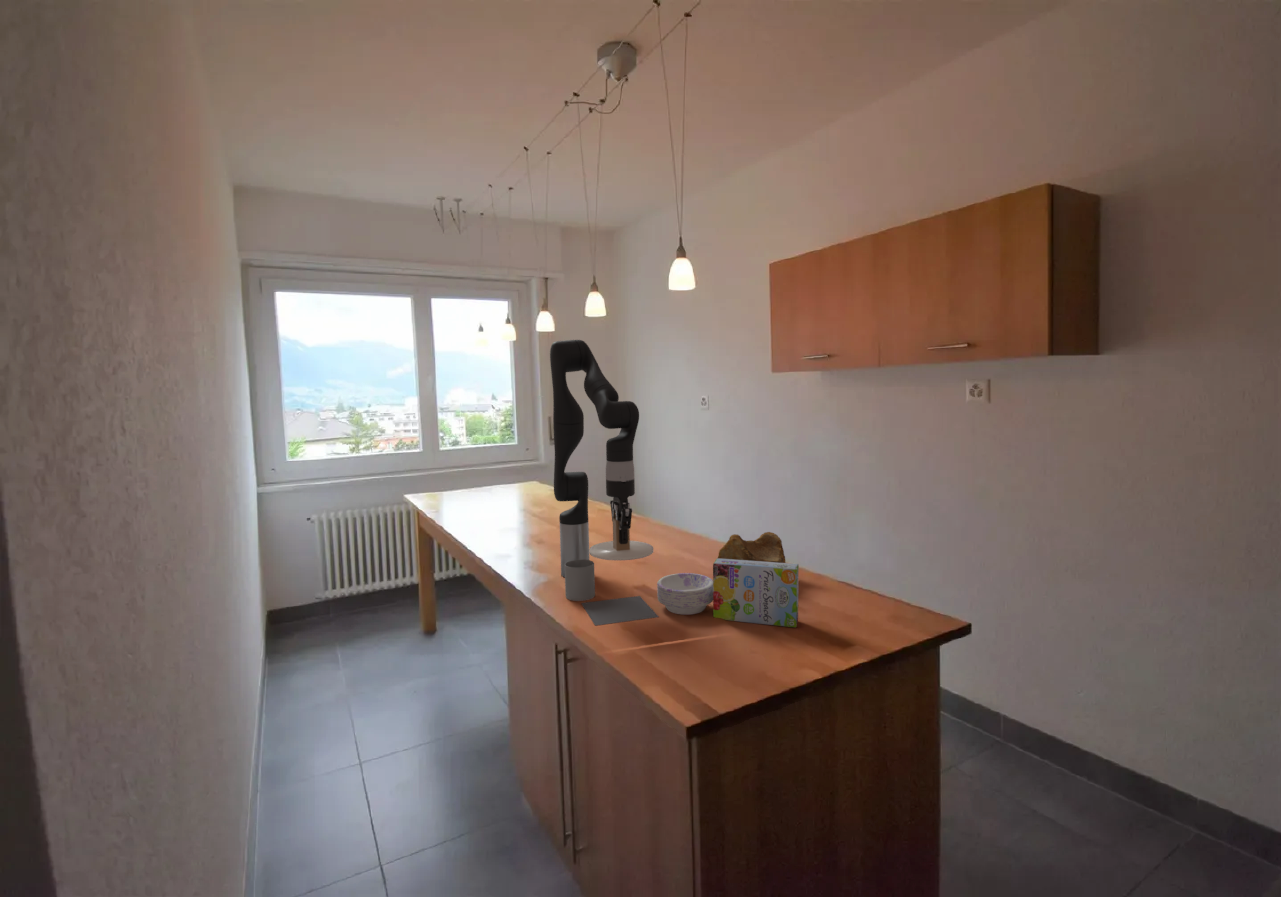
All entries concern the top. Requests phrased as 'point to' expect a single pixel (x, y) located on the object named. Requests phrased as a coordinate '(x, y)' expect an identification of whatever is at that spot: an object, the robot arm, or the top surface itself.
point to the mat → (618, 610)
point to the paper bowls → (685, 592)
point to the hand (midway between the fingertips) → (621, 541)
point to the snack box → (756, 592)
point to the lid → (620, 548)
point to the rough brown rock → (754, 549)
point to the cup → (579, 580)
